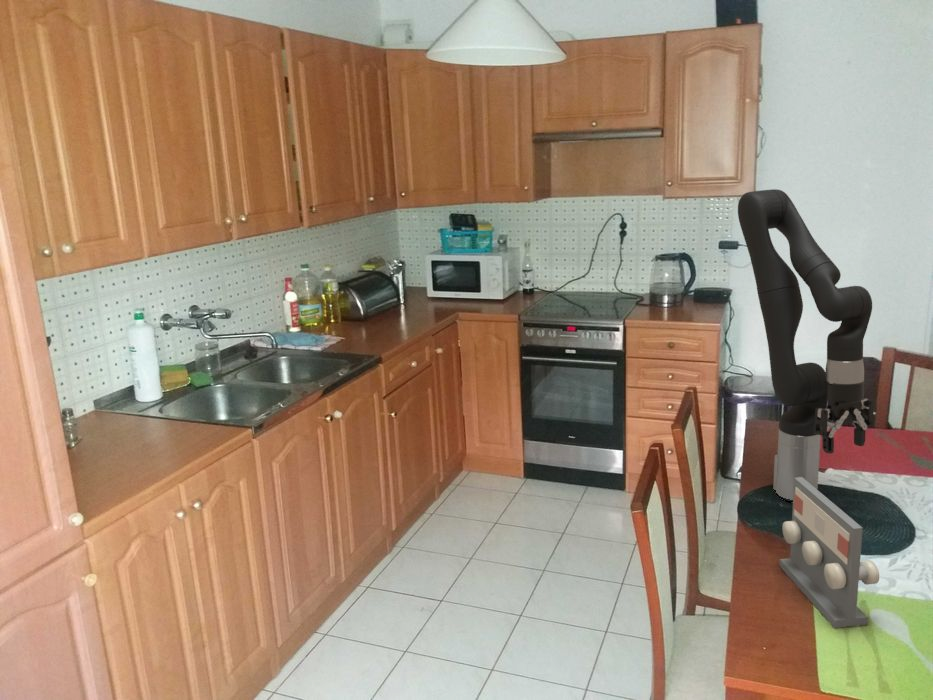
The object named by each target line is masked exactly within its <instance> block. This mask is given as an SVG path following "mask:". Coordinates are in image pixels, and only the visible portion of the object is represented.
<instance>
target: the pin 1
mask: <svg viewBox="0 0 933 700" xmlns="http://www.w3.org/2000/svg"><path fill="white" fill-rule="evenodd" d="M781 530H782V534H783V535H782V536H783V539H784V540H785V542H786V543H787V544H788V545H791V544H795V543H799V542H800V540H801V538H802V528H801V527H800V526H799V525H798V524H797V523H796V522H795V521H792V520H787V521H784V522H783V523H782V529H781Z"/></svg>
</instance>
